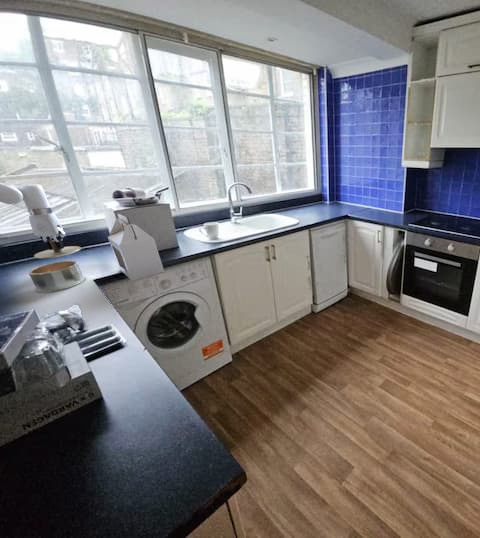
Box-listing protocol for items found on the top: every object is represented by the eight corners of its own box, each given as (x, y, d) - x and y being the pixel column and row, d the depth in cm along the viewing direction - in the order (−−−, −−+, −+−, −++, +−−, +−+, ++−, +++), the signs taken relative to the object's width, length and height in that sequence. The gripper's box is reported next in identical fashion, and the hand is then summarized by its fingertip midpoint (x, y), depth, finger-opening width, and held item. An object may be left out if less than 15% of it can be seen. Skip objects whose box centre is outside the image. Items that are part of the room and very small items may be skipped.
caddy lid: (24, 260, 137) (18, 246, 134) (56, 249, 152) (51, 236, 150) (62, 258, 138) (56, 245, 135) (90, 247, 153) (85, 235, 151)
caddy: (27, 293, 126) (17, 275, 123) (58, 278, 141) (51, 261, 137) (64, 291, 127) (56, 273, 124) (92, 276, 141) (85, 259, 138)
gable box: (120, 270, 147) (99, 215, 136) (150, 262, 157) (132, 210, 146) (132, 281, 134) (110, 221, 123) (164, 272, 143) (146, 215, 132)
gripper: (14, 213, 133) (32, 252, 140) (52, 212, 134) (67, 250, 141) (30, 210, 140) (46, 247, 147) (66, 209, 141) (80, 246, 148)
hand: (56, 248), depth 144 cm, fingers closed on caddy lid, 3 cm apart
